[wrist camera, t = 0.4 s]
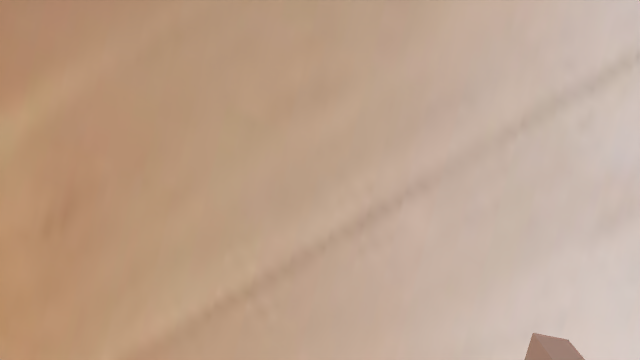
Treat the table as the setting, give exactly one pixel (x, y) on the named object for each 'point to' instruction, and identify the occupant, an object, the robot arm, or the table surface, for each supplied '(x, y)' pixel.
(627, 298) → the table surface
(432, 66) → the table surface
